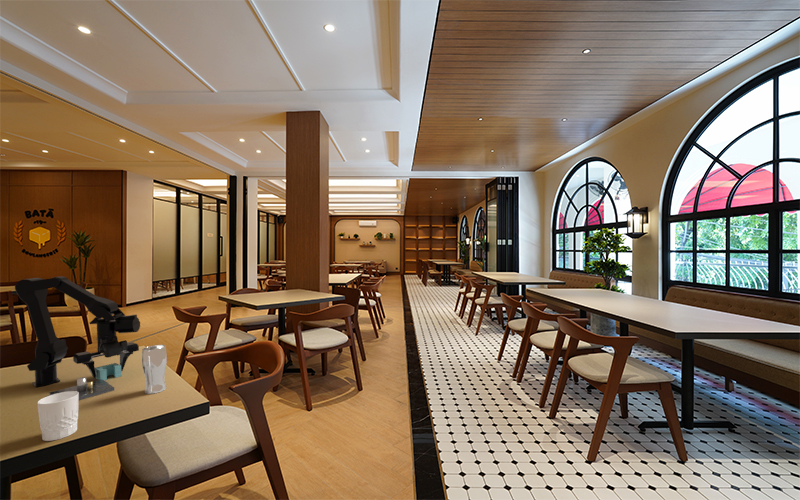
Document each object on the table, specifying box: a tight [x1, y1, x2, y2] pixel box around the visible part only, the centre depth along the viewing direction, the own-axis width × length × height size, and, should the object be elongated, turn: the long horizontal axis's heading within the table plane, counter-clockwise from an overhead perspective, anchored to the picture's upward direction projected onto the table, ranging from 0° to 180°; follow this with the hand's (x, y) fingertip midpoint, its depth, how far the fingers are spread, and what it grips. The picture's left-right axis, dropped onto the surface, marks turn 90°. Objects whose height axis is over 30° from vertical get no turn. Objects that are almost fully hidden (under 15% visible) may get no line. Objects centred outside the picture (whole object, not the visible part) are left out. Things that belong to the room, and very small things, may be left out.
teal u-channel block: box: [95, 362, 123, 381], centre depth 134 cm, size 6×6×4 cm
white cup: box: [36, 391, 80, 442], centre depth 93 cm, size 8×8×10 cm
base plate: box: [48, 376, 115, 401], centre depth 120 cm, size 14×14×5 cm
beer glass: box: [141, 344, 168, 395], centre depth 120 cm, size 7×7×15 cm
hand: (108, 374), depth 134 cm, fingers open, 8 cm apart
